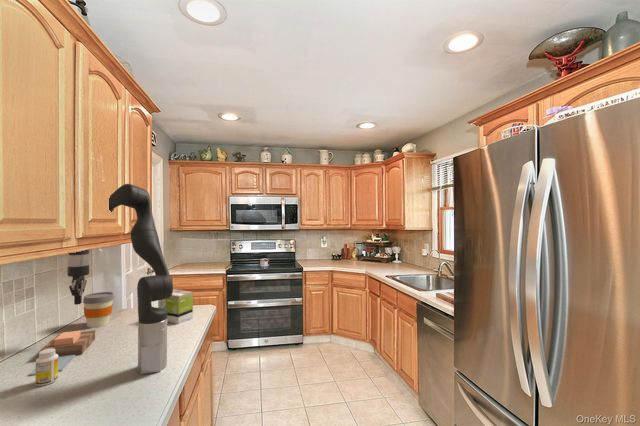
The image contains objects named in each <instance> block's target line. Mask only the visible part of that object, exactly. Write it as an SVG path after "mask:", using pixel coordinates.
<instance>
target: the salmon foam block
mask: <svg viewBox="0 0 640 426" xmlns="http://www.w3.org/2000/svg"><path fill="white" fill-rule="evenodd" d="M81 332H82V331H81V330H74V331H65V332H62V333H60V334H61V335H59V334H58V335H59V336H58V337H57V338H56V339H55V340H54V346H59V345H67V344H73V343H74V342H75V341H76V340H78V339H79V338H80V337H81Z"/></svg>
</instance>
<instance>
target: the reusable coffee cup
mask: <svg viewBox="0 0 640 426" xmlns="http://www.w3.org/2000/svg"><path fill="white" fill-rule="evenodd" d="M114 298H115V297H114V292H111V291H103V292H95V293H89V294H86V295H84V296H83V299H82V300H83V301H82V303H83V305H84V306H83V312H84V313H83V314H84V317H85V321H86V327H87V328H89V329H90V328H91V329H95V328H100V327H105V326H107V325H108V324H109V323H110V319H111V314H112V311H113V307H114V306H113V305H114V303H113V300H114Z"/></svg>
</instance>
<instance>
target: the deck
mask: <svg viewBox="0 0 640 426" xmlns="http://www.w3.org/2000/svg"><path fill="white" fill-rule="evenodd" d="M61 334H62V333H59V334H58V335H56V336H55V337H53V339H51V340H50V341H49V342H48V343H47V344H45V345H44V346H43V347H42V348H40V351H39V352H41V351H43V350H46V349H55V354H58V356H65V355H73V354H76V356H80V355H81V356H82V355H83V354H84V353H85V352H86V351H87V349H89V347H90V346H91V345H92V343H93V342H95V340H96V330H95V329H94V330H87V331H81V337H80V338H79V339H78V340H76V341H75V342H74V343H73V344H67V345H59V346H54V340H55V339H56V338H57V337H58V336H59V335H61Z"/></svg>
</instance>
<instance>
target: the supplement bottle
mask: <svg viewBox="0 0 640 426" xmlns="http://www.w3.org/2000/svg"><path fill="white" fill-rule="evenodd" d="M35 368H36V375H35V380H34V381H35V385H36V386H39V387H41V386H47V385H50V384H53V383H54V382H56V381H57V380H58V379H59V371H58V354H55V349H46V350H43V351H41V352H40V351H39V353H38V358H36V359H35Z"/></svg>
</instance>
